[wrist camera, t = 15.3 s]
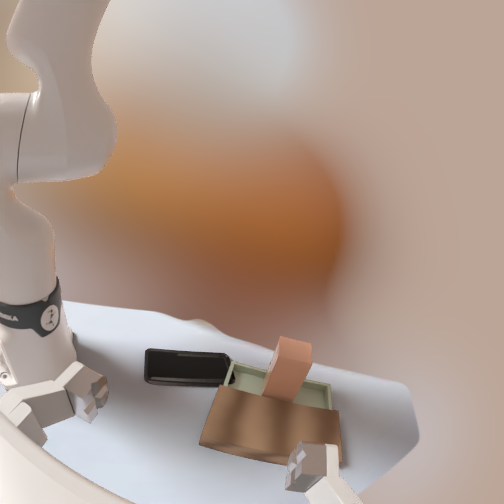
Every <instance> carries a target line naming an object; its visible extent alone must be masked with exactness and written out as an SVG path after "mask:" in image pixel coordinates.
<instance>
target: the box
mask: <svg viewBox="0 0 504 504" xmlns="http://www.w3.org/2000/svg"><path fill="white" fill-rule="evenodd" d="M232 370H233V372H234V376H235V379H236V380H235V383H233V384H228V383H229V380H230V377H231V374H232ZM266 373H267V370H263V369H259V368H256V367H252V366H248V365H245V364H241V363H238V362H234V361H232V362H231V364H230V367H229V370H228V373H227V376H226V379H225V382H224V386H227V387H230V388H234V389H237V390H241V391H245V392H248V393H252V394H256V395H260V396H261V392H262V387H263V381H264V378H265V376H266ZM293 403H296V404H301V405H306V406H311V407H317V408H323V409H329V410H332V398H331V388H330V384H326V383H321V382H316V381H311V380H306V379H305V380H304V382H303V384H302V386H301V387H300V389H299V391H298V393H297V395H296V397H295V399H294V401H293Z"/></svg>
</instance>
